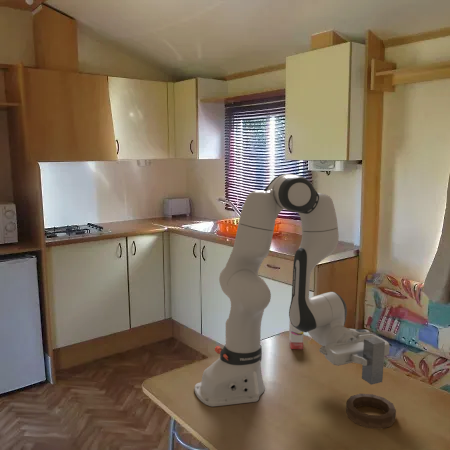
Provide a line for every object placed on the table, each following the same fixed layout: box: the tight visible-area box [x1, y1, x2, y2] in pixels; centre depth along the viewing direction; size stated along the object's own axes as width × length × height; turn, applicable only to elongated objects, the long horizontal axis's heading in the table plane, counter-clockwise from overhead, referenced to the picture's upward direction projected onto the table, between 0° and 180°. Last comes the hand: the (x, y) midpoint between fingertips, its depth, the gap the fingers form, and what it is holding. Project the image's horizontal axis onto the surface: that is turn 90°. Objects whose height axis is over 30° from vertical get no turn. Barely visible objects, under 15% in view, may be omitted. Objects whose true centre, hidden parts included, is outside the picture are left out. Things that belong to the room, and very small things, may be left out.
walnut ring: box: [345, 393, 397, 430], centre depth 137 cm, size 13×13×3 cm
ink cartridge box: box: [288, 320, 305, 350], centre depth 185 cm, size 9×5×15 cm, turn 178°
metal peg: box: [361, 337, 385, 386], centre depth 134 cm, size 4×4×12 cm
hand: (375, 361), depth 133 cm, fingers closed on metal peg, 4 cm apart
